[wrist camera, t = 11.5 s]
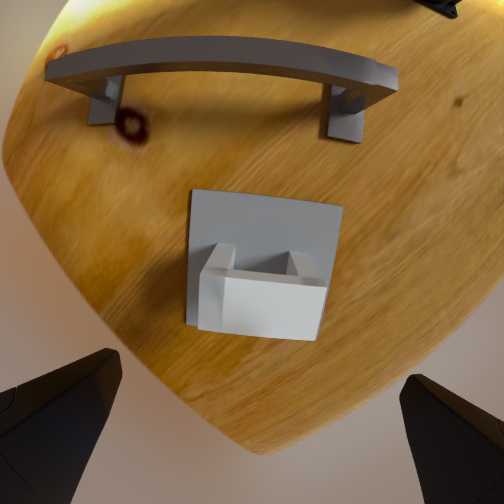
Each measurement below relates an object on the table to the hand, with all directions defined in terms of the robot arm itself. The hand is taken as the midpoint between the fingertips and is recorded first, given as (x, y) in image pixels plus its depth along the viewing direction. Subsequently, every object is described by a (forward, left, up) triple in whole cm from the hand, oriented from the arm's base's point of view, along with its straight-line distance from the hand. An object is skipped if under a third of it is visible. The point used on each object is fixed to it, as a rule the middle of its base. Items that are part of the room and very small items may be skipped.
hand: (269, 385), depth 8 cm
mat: (0, +1, -13) cm, 13 cm away
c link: (0, +1, -12) cm, 12 cm away
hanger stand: (+4, -11, -13) cm, 18 cm away
